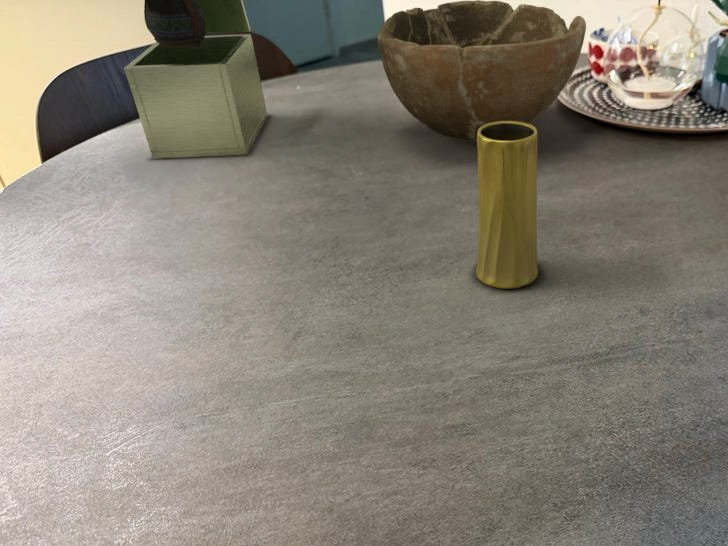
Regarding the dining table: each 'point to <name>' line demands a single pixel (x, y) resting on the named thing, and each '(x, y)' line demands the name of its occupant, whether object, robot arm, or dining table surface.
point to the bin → (199, 97)
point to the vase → (507, 204)
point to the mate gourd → (177, 25)
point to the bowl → (478, 63)
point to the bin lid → (224, 16)
